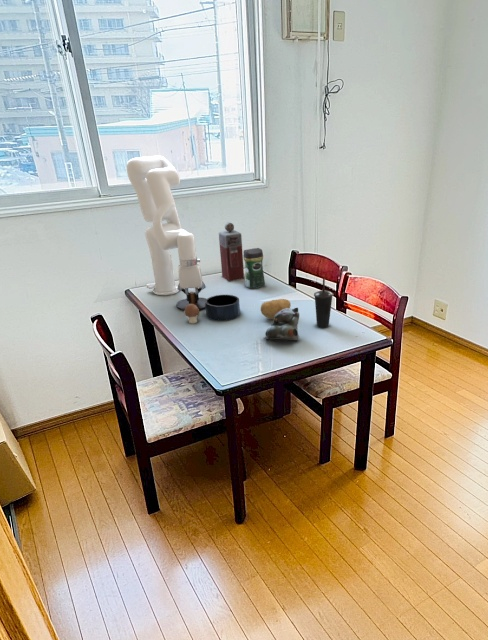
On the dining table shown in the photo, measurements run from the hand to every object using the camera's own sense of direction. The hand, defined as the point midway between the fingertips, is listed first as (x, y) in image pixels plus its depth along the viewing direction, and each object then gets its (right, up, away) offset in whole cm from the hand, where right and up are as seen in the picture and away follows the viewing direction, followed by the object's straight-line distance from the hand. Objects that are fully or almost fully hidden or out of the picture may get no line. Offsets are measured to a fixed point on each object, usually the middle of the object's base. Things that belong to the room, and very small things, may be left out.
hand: (193, 301), depth 227 cm
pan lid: (0, -1, +1) cm, 1 cm away
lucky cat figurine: (+41, -21, -33) cm, 57 cm away
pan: (+15, -7, -10) cm, 19 cm away
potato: (+38, -10, -14) cm, 42 cm away
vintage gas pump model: (+15, +19, +34) cm, 42 cm away
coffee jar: (+27, +12, +23) cm, 37 cm away
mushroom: (+3, -12, -16) cm, 20 cm away
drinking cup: (+58, -15, -23) cm, 64 cm away
